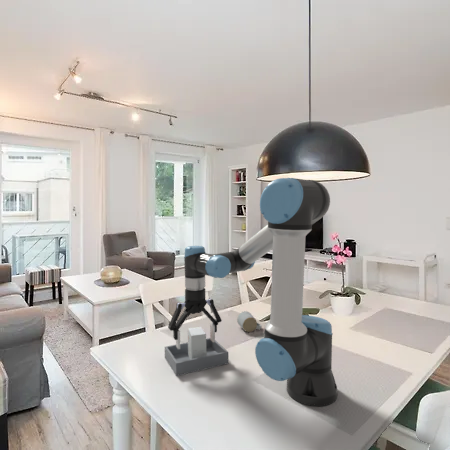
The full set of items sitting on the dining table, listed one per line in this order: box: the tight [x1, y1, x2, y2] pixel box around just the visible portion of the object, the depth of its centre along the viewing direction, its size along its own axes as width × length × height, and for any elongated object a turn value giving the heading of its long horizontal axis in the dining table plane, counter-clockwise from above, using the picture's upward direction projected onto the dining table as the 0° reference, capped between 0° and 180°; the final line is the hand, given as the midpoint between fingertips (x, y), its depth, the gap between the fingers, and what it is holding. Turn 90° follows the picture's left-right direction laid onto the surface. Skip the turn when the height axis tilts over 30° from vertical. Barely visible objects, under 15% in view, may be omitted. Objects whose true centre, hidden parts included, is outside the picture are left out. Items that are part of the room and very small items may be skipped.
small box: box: [187, 326, 207, 359], centre depth 121 cm, size 8×6×10 cm
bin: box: [164, 337, 230, 376], centre depth 121 cm, size 15×20×4 cm
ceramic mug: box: [236, 310, 263, 333], centre depth 152 cm, size 11×8×8 cm
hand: (195, 344), depth 121 cm, fingers open, 13 cm apart
